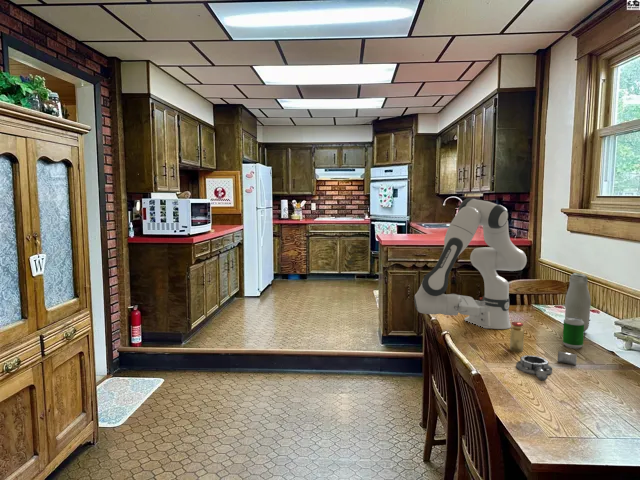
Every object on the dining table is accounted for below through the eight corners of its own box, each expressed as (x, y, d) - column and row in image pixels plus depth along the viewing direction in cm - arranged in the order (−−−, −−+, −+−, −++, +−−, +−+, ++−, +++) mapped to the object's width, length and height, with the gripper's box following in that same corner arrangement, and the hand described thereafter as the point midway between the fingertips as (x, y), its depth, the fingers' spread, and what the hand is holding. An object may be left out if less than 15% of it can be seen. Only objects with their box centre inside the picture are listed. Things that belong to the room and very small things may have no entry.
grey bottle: (590, 331, 203) (593, 273, 200) (585, 336, 196) (589, 276, 193) (567, 327, 210) (570, 270, 207) (561, 331, 203) (564, 273, 200)
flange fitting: (524, 379, 150) (524, 369, 150) (512, 361, 167) (513, 353, 166) (561, 382, 148) (562, 372, 148) (546, 363, 164) (546, 355, 164)
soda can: (585, 349, 179) (587, 321, 178) (566, 348, 180) (567, 321, 179) (578, 343, 186) (580, 316, 185) (560, 342, 188) (561, 316, 186)
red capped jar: (507, 349, 180) (508, 322, 179) (514, 347, 183) (515, 320, 181) (518, 353, 176) (519, 325, 175) (525, 350, 178) (526, 323, 177)
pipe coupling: (557, 363, 165) (557, 353, 165) (558, 359, 168) (559, 350, 168) (575, 366, 162) (575, 356, 161) (576, 363, 165) (577, 353, 164)
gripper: (456, 303, 172) (492, 304, 169) (450, 292, 192) (483, 293, 189) (455, 318, 172) (491, 320, 170) (450, 306, 192) (482, 307, 190)
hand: (487, 306), depth 180 cm, fingers open, 8 cm apart
